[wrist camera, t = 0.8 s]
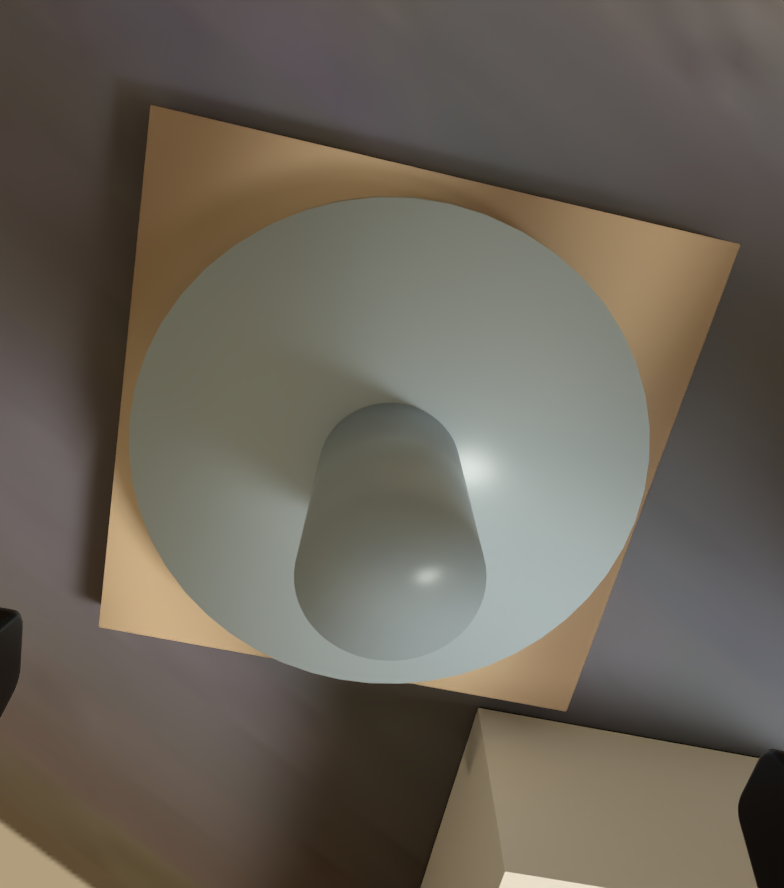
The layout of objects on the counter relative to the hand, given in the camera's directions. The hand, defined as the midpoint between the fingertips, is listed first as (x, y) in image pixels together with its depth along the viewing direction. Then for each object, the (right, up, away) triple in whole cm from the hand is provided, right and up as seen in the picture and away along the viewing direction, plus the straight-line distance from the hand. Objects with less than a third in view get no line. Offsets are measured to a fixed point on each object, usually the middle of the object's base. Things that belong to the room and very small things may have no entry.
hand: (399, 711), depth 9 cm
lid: (0, +3, +8) cm, 8 cm away
